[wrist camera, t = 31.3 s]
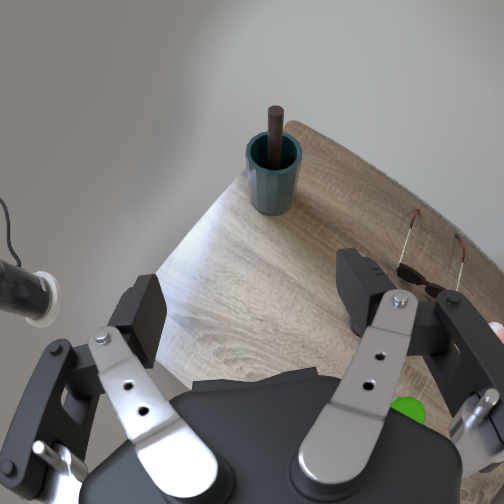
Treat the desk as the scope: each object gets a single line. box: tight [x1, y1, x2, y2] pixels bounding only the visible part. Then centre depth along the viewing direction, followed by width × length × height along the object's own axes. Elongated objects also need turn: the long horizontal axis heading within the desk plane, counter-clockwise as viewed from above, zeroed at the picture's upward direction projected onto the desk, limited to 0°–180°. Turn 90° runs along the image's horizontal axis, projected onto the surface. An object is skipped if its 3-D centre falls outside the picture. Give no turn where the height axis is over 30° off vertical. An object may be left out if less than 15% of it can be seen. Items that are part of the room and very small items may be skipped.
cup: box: [390, 396, 425, 424], centre depth 35 cm, size 8×8×15 cm
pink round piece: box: [488, 322, 504, 344], centre depth 40 cm, size 8×8×7 cm
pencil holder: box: [246, 131, 302, 216], centre depth 49 cm, size 8×8×14 cm
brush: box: [266, 106, 284, 171], centre depth 44 cm, size 4×4×22 cm
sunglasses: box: [396, 209, 465, 299], centre depth 48 cm, size 14×16×5 cm
